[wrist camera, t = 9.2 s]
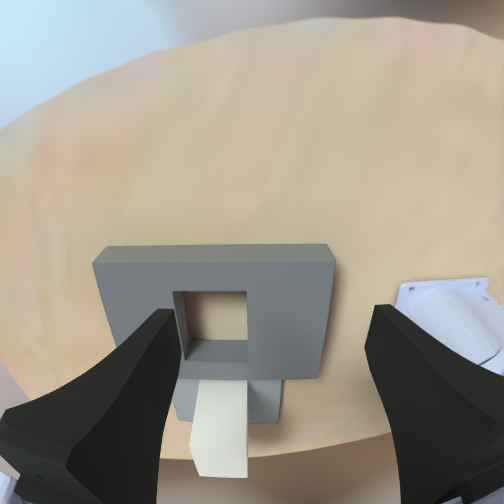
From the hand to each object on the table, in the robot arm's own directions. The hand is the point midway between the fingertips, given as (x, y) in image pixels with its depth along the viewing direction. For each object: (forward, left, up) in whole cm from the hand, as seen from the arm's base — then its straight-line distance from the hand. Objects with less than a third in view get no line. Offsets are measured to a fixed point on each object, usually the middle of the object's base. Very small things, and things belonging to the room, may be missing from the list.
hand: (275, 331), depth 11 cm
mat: (+4, +16, -10) cm, 19 cm away
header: (+4, +6, -10) cm, 12 cm away
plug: (+3, +16, -9) cm, 19 cm away
